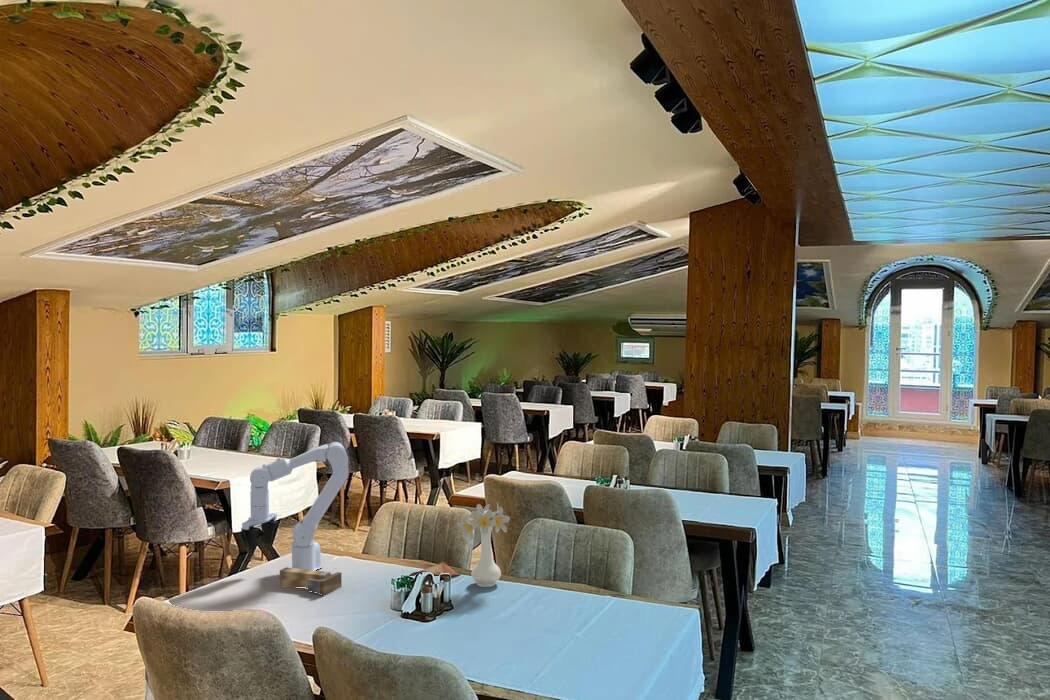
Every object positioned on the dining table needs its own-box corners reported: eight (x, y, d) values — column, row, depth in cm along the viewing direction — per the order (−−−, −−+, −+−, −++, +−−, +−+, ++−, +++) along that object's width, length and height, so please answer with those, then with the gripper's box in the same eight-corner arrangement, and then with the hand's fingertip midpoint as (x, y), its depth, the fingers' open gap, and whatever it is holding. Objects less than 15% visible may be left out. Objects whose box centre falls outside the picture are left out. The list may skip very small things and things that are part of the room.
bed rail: (279, 586, 254) (279, 570, 253) (286, 582, 257) (286, 567, 257) (324, 591, 249) (324, 575, 248) (330, 588, 252) (330, 572, 252)
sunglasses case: (426, 589, 250) (418, 569, 252) (412, 597, 254) (403, 577, 255) (462, 574, 265) (454, 555, 267) (448, 581, 269) (440, 563, 270)
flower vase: (452, 590, 250) (451, 509, 249) (484, 573, 266) (484, 498, 265) (487, 597, 243) (487, 514, 242) (518, 580, 259) (518, 502, 258)
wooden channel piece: (306, 593, 247) (306, 578, 247) (324, 584, 255) (324, 570, 255) (324, 596, 244) (323, 581, 244) (341, 587, 253) (341, 572, 253)
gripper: (264, 499, 272) (264, 539, 273) (234, 508, 259) (234, 550, 259) (281, 501, 269) (282, 541, 270) (252, 510, 256) (252, 553, 257)
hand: (260, 546), depth 264 cm, fingers open, 7 cm apart
